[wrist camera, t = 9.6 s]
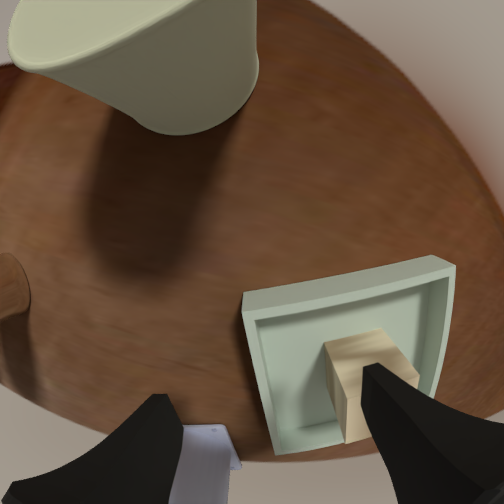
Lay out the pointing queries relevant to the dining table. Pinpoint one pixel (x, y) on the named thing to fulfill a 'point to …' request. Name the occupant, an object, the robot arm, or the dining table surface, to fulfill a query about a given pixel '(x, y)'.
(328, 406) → the bin
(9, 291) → the beer glass
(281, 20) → the dining table surface
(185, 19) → the can
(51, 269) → the dining table surface
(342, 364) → the birch block
